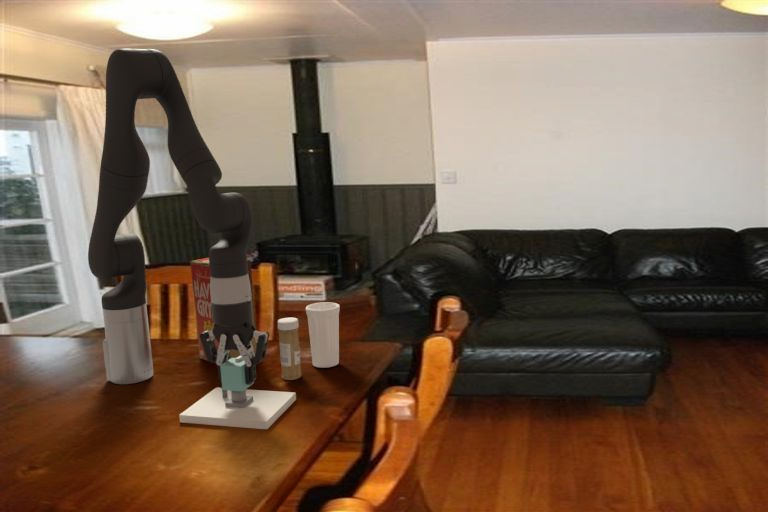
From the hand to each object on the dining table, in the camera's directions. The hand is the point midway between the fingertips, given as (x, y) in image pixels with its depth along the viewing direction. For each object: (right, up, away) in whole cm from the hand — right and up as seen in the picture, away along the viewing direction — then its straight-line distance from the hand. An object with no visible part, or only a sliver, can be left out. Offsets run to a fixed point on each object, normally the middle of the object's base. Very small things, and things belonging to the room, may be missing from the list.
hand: (238, 382), depth 122 cm
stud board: (0, -6, +1) cm, 6 cm away
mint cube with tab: (0, -1, 0) cm, 1 cm away
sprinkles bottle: (+8, -3, +18) cm, 20 cm away
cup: (+15, -1, +26) cm, 30 cm away
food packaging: (-10, -1, +33) cm, 35 cm away
